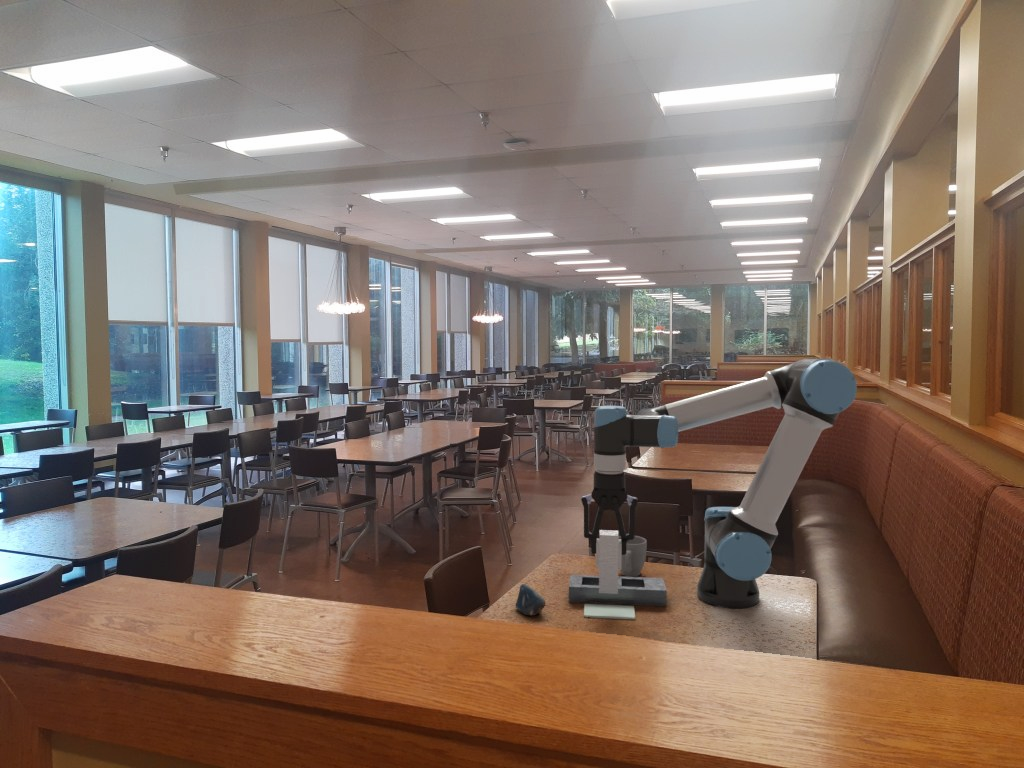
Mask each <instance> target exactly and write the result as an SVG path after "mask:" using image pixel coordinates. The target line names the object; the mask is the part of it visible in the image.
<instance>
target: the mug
mask: <svg viewBox="0 0 1024 768" xmlns="http://www.w3.org/2000/svg"><path fill="white" fill-rule="evenodd" d="M619 539H621V536H620V535H619ZM647 546H648V542H647V539H646V538H644V537H642V536H639V535H634V539H633V540H628V541H627V543H626V555H621V570H620V574H621V575H623V576H624V577H639V576H640V575H641V572H642V570H643V568H644V565H645V562H646V558H647V548H648V547H647Z"/></svg>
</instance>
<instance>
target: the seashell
mask: <svg viewBox="0 0 1024 768" xmlns="http://www.w3.org/2000/svg"><path fill="white" fill-rule="evenodd" d="M545 606H546V600H545V598H544V597H543V596H542V595H541V594H540V593H539V592H537V590H535V589H533V588H532V587H531V586H530V585H527V583H526V584H525V583H521V585H520V587H519V592H518V596H517V599H516V602H515V608H516V609H517V610H519V612H520V613H522V614H523V615H526V616H536V615H538V614H539V613H540V612H541V611H542V610H543V609H544V608H545Z"/></svg>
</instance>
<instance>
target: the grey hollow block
mask: <svg viewBox="0 0 1024 768" xmlns="http://www.w3.org/2000/svg"><path fill="white" fill-rule="evenodd" d="M568 583H569V584H568V603H577V604H578V603H579V604H581V603H582V604H596V605H619V606H645V607H646V606H648V607H667V604H668V603H667V596H668V595H667V593H668V592H667V587H666V583H665V578H664V577H644V576H643V577H642V576H620V575H618V594H609V593H599V575H595V574H593V575H592V574H591V575H589V574H570V575H569V582H568Z"/></svg>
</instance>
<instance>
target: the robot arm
mask: <svg viewBox="0 0 1024 768" xmlns="http://www.w3.org/2000/svg"><path fill="white" fill-rule="evenodd" d="M857 385H858V384H857V380H856V378H855V375H854V374H853V372H852V371H851V369H849V367H847V365H844V364H843V363H842V362H839V361H837V360H832V359H830V358H815V357H814V358H811V357H810V358H803V359H800V360H797V361H794V362H792V363H790V364H786V365H785V366H781V367H778V368H775V369H772V370H769V371H766V373H765V374H764V376H763V377H760V378H755V379H752V380H749V381H748V380H747V381H744V382H741V383H738V384H734V385H731V386H727V387H723V388H720V389H717V390H713V391H709V392H705V393H703V394H698V395H695V396H691V397H689V398H684V399H681V400H677V401H674V402H670V403H667V404H664V405H659V406H656V407H652V408H651V407H647V408H646V407H645V408H643V409H641V410H639V411H638V412H637V413H636V414H635V415H633V414H628V412H627V408H626V407H624V406H623V405H601V406H598V407H597V408H595V410H594V419H593V420H594V422H593V469H594V470H595V471H594V472H593V489H592V491H591V493H590V494H587V495H585V494H583V495H582V496H581V498H580V501H581V503H582V507H583V537H584V538H585V539H588V540H590V541H591V543H590V544H591V547H590V548H591V550H590V551H591V554H594V555H596V556H595V564H596V565H595V569H598V570H599V538H598V536H599V532H600V527H601V523H602V518H603V515H604V512H605V511H608V510H609V511H614V514H615V516H616V517H615V518H616V521H617V527H618V532H619V536H621V539H619V551H618V570H620V571H621V555H626V543H627V541H628V540H633V539H634V536H635V525H636V524H635V523H636V522H635V519H636V517H635V516H636V515H635V514H636V508H637V505H638V502H639V501H638V497H636V496H631V495H629V494H628V492H627V491H626V472H625V470H626V466H627V465H626V461H627V460H626V459H627V453H626V452H627V451H626V448H627V447H631V448H635V447H636V448H638V447H640V448H660V449H664V448H675V447H676V446H677V444H678V442H679V432H683V431H687V430H691V429H694V428H698V427H701V426H705V425H709V424H713V423H717V422H719V421H724V420H728V419H731V418H734V417H738V416H741V415H746V414H750V413H753V412H757V411H761V410H766V409H769V408H772V407H773V408H774V409H776V410H780V409H783V410H784V416H783V417H782V420H781V421H780V423H779V426H778V428H777V430H776V432H775V434H774V436H773V438H772V439H771V442H770V443H769V446H768V449H767V450H766V452H765V454H764V455H763V458H762V459H761V462H760V465H759V466H758V468H757V470H756V472H755V475H754V476H753V477H752V480H751V483H750V485H749V486H748V488H747V490H746V492H745V494H744V497H743V499H742V500H741V503H740V505H739V506H712V507H708V508H707V509H706V510H705V513H704V518H703V520H704V565H703V568H702V571H701V574H700V577H699V579H698V582H697V585H696V596H697V597H698V599H700V600H701V601H703V602H705V603H707V604H710V605H713V606H715V607H716V606H717V607H723V608H728V609H745V608H750V607H754V606H756V605H757V604H759V602H760V589H759V587H758V586H759V585H758V583H757V580H756V579H759V578H761V577H762V576H763V575H764V574H765V573H766V572H767V571H768V570H769V568H770V567H771V563H772V550H771V549H772V547H773V546H774V543H775V541H776V539H777V537H778V535H779V532H778V529H777V525H776V524H777V521H778V520H779V517H780V515H781V513H782V511H783V509H784V507H785V505H786V503H787V502H788V499H789V497H790V496H791V493H792V491H793V489H794V487H795V485H796V483H797V481H798V479H799V477H800V475H801V473H802V471H803V470H804V467H805V465H806V463H807V462H808V460H809V457H810V455H811V454H812V451H814V450H813V449H814V447H815V446H816V444H817V442H818V440H819V438H820V436H821V434H822V432H823V431H824V430H826V429H829V428H833V426H834V424H835V422H836V421H837V419H838V417H839V414H840V413H841V412H844V411H845V410H846V409H848V408H849V407H850V406H851V405H852V404H853V402H854V401H855V398H856V396H857V391H858V388H857V387H858V386H857ZM592 500H593V501H594V502H595V503H596V505H597V506H598V507H597V513H596V516H595V519H594V524H593V529H592V532H591V531H590V505H591V504H592ZM626 501H627V505H628V506H629V508H628V509H629V512H628V514H629V515H628V533H626V529H625V525H624V521H623V517H622V512H621V507H622V505H623V504H624V503H625V502H626Z"/></svg>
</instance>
